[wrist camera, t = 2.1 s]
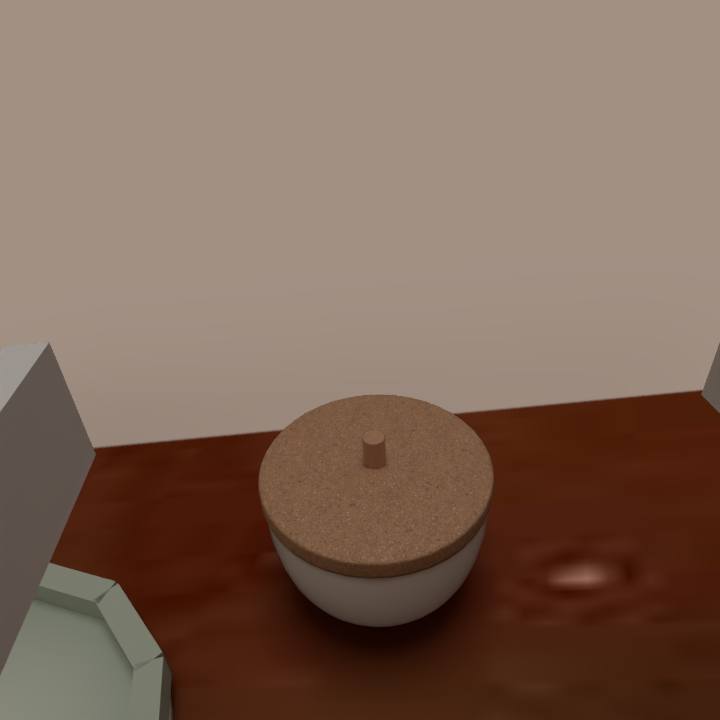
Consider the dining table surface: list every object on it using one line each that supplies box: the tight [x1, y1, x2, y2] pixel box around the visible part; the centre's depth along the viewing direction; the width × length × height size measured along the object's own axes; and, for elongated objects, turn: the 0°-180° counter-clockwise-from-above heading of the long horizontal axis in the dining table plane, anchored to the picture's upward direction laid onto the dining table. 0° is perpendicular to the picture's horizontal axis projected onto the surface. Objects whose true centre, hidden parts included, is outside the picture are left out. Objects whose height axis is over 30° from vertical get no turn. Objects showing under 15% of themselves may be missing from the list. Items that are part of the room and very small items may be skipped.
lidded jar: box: [258, 395, 494, 627], centre depth 28 cm, size 11×11×9 cm
